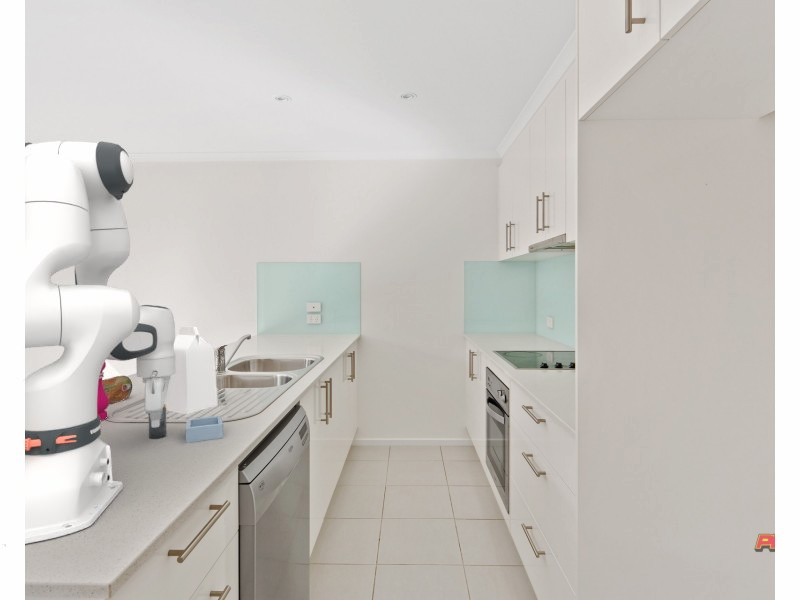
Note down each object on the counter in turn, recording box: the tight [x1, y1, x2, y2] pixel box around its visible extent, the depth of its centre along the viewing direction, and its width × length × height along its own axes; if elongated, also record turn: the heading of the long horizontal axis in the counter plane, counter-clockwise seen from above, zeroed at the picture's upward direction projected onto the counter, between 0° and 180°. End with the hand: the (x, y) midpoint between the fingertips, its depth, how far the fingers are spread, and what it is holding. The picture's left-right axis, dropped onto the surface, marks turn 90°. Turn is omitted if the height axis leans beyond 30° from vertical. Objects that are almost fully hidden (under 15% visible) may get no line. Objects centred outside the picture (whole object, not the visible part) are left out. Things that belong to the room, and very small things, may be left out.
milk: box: [164, 325, 219, 415], centre depth 141 cm, size 12×12×26 cm
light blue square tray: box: [185, 415, 224, 444], centre depth 115 cm, size 8×8×4 cm
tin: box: [102, 375, 133, 405], centre depth 147 cm, size 15×3×8 cm, turn 167°
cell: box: [148, 404, 168, 440], centre depth 114 cm, size 4×4×9 cm
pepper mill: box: [97, 361, 110, 421], centre depth 128 cm, size 7×7×20 cm
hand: (157, 421), depth 114 cm, fingers open, 8 cm apart
